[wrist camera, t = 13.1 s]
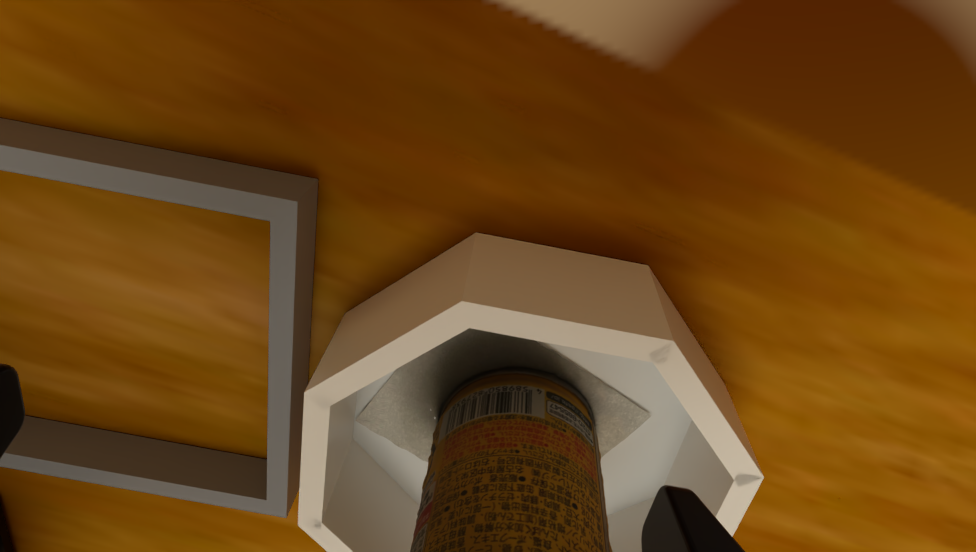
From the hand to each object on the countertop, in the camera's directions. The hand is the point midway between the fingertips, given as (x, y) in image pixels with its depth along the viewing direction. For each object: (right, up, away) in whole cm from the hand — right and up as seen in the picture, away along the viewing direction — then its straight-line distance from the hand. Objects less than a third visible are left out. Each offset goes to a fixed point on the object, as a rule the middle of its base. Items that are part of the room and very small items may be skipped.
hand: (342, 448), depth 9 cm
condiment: (+2, -3, +15) cm, 16 cm away
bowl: (+3, -3, +15) cm, 16 cm away
